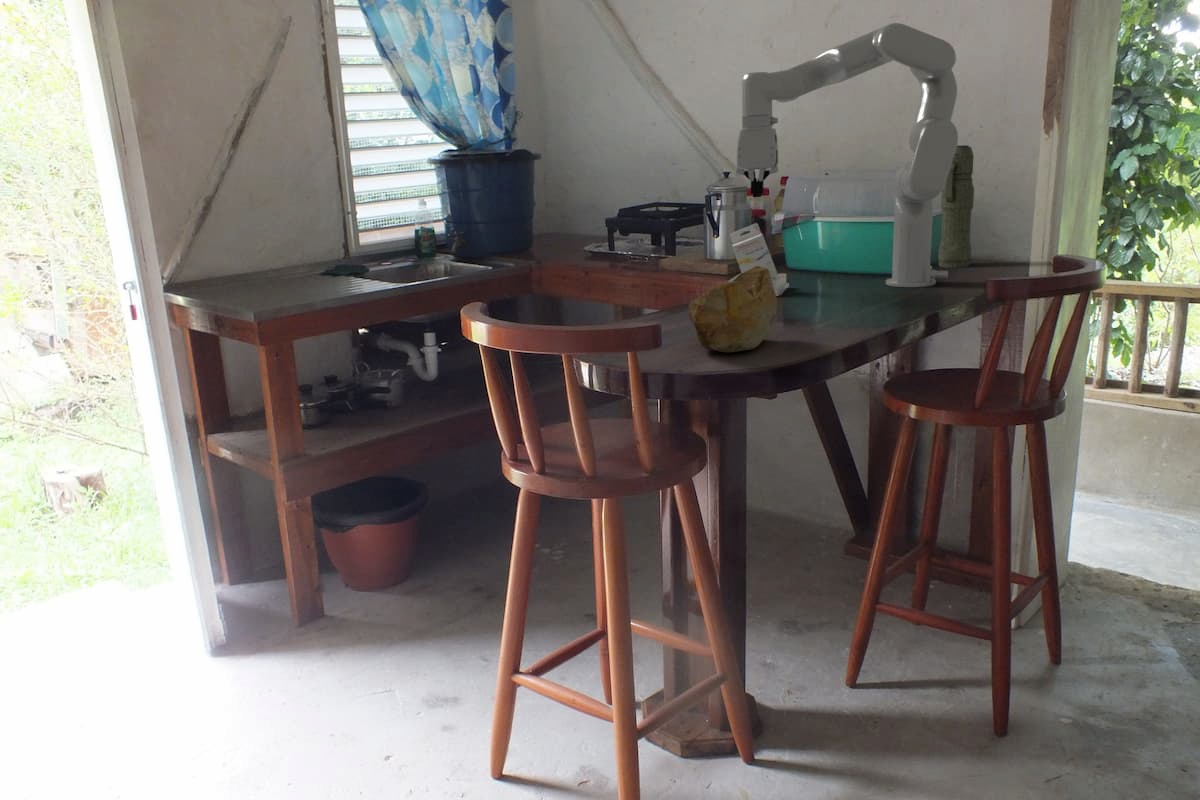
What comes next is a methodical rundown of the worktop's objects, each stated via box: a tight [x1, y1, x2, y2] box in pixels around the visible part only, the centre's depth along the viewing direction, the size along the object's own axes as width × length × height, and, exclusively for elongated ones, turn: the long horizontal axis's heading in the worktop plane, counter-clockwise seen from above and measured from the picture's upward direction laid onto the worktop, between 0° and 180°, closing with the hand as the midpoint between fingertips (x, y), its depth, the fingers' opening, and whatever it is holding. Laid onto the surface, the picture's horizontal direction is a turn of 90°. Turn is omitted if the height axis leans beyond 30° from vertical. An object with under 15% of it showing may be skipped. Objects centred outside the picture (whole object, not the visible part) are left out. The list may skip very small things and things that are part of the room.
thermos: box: [937, 145, 975, 269], centre depth 279 cm, size 9×12×35 cm
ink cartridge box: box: [729, 222, 778, 278], centre depth 254 cm, size 9×5×15 cm, turn 79°
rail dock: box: [727, 272, 790, 297], centre depth 256 cm, size 14×15×4 cm
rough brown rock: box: [688, 266, 778, 353], centre depth 191 cm, size 23×17×15 cm
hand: (757, 196), depth 250 cm, fingers closed
